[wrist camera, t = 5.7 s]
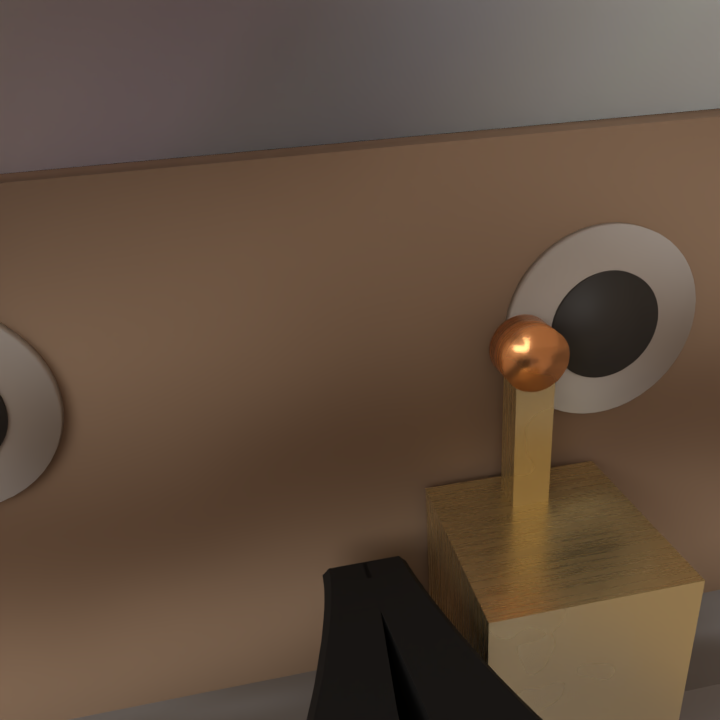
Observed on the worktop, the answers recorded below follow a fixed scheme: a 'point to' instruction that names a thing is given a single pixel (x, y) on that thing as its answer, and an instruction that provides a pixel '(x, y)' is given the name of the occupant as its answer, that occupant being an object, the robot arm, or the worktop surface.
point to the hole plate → (327, 388)
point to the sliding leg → (560, 563)
